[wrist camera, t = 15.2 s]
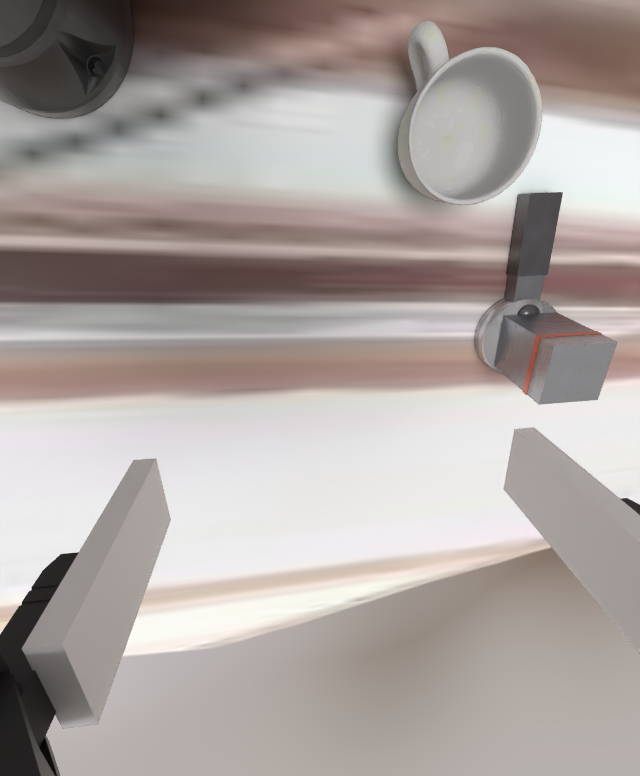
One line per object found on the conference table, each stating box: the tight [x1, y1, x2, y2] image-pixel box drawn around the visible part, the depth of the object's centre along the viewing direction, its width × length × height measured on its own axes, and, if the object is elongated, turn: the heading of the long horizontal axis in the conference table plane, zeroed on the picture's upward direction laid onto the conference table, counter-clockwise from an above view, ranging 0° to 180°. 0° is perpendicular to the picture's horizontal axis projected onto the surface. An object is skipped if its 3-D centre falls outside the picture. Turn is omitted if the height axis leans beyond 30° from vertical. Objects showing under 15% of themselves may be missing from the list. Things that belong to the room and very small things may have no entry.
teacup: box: [398, 21, 542, 205], centre depth 35 cm, size 14×11×8 cm
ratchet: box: [475, 192, 563, 375], centre depth 42 cm, size 20×9×8 cm, turn 2°
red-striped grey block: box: [494, 312, 617, 404], centre depth 41 cm, size 6×6×9 cm
